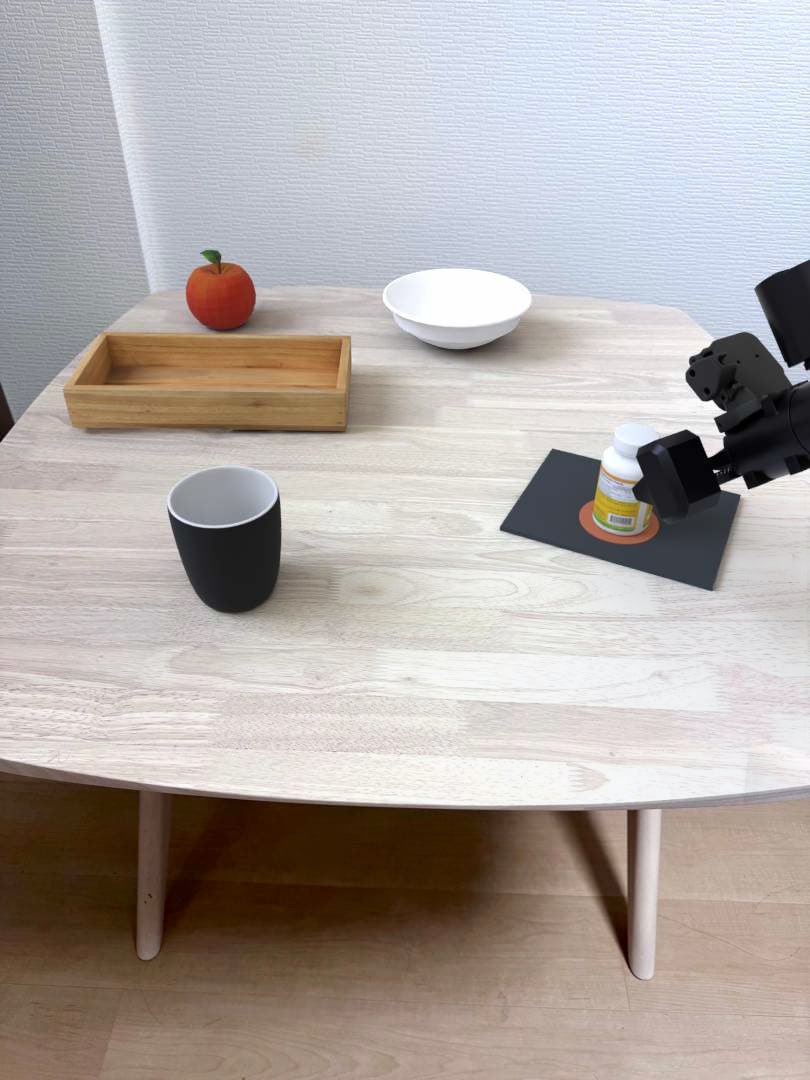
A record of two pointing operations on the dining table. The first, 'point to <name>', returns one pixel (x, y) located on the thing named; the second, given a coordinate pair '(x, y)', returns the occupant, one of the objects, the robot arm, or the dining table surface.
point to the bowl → (457, 306)
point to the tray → (212, 382)
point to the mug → (228, 535)
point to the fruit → (220, 293)
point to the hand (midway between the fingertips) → (674, 478)
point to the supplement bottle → (622, 483)
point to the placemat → (567, 522)
